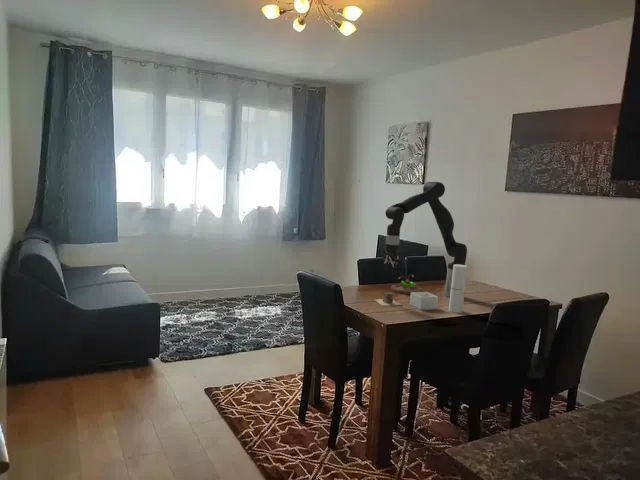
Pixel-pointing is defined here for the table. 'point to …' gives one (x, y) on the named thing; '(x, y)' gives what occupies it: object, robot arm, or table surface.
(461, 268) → the cylindrical container
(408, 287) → the plant
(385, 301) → the oak lid
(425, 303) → the off-white box
